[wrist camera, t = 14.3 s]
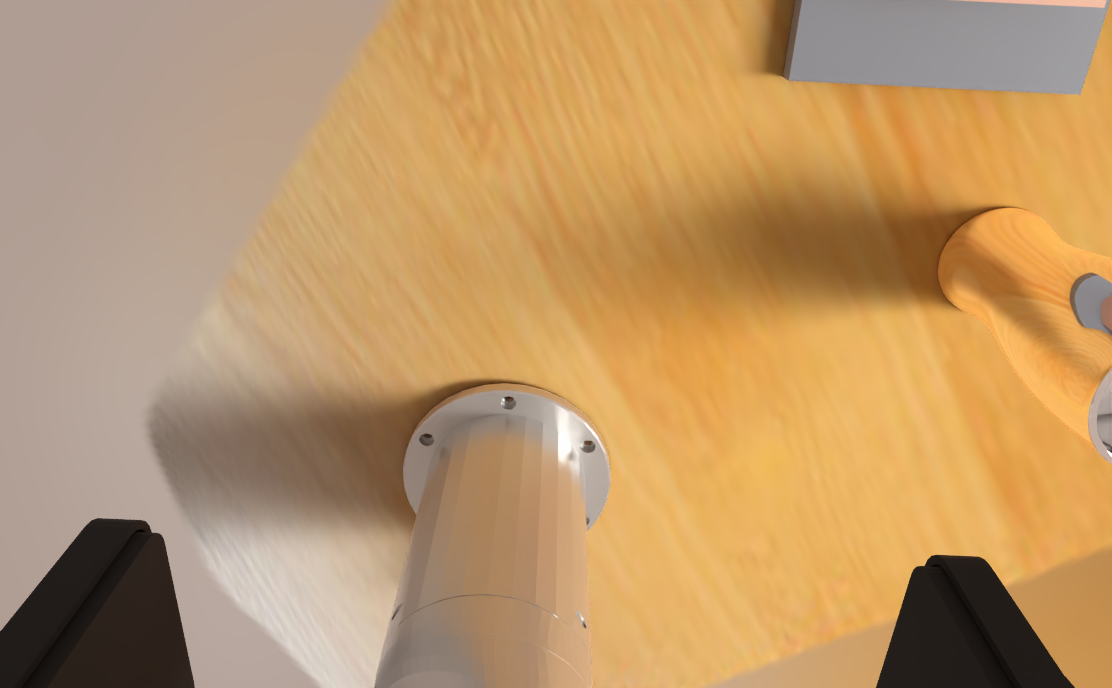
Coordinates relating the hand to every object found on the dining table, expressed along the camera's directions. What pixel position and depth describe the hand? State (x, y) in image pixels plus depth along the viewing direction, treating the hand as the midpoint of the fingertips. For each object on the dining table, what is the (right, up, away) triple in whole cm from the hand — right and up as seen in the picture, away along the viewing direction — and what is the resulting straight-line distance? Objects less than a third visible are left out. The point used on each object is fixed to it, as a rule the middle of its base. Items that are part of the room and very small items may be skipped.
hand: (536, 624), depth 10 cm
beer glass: (+24, +8, +34) cm, 43 cm away
